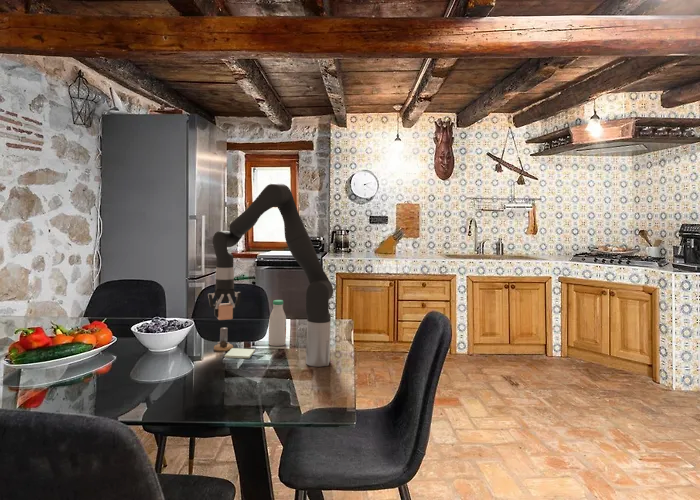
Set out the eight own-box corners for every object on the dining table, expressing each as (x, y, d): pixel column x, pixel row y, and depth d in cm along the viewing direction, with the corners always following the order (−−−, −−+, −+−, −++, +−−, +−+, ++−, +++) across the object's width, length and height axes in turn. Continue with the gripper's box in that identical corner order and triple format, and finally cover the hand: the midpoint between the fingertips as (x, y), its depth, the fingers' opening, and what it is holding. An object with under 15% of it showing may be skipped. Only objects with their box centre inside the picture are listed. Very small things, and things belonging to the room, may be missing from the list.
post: (235, 346, 191) (235, 326, 190) (229, 352, 183) (230, 331, 182) (217, 345, 191) (217, 325, 190) (211, 351, 183) (211, 330, 182)
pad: (255, 351, 185) (255, 349, 185) (249, 358, 176) (249, 356, 175) (232, 350, 186) (232, 348, 186) (224, 357, 176) (224, 355, 176)
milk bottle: (284, 346, 193) (285, 302, 192) (266, 346, 193) (267, 301, 192) (286, 342, 201) (288, 299, 200) (270, 341, 201) (271, 298, 200)
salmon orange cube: (232, 319, 185) (232, 304, 184) (219, 320, 182) (219, 305, 182) (229, 316, 190) (229, 302, 189) (216, 317, 187) (216, 303, 187)
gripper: (208, 279, 178) (208, 320, 179) (243, 278, 185) (243, 317, 186) (205, 277, 185) (205, 316, 186) (239, 276, 192) (239, 313, 193)
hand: (224, 316), depth 186 cm, fingers closed on salmon orange cube, 5 cm apart
